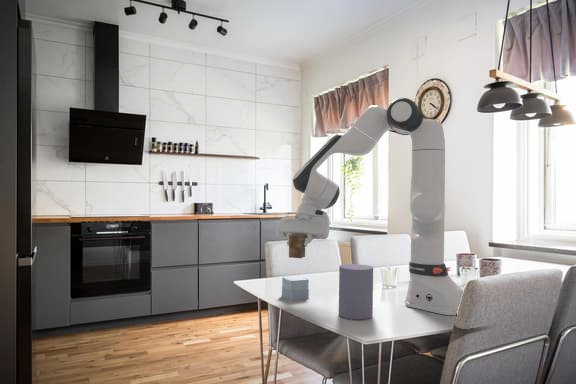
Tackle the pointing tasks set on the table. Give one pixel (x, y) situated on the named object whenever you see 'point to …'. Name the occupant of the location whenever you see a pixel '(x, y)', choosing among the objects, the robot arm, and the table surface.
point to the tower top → (295, 283)
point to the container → (355, 291)
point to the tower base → (295, 294)
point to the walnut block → (296, 246)
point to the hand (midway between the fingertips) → (296, 245)
